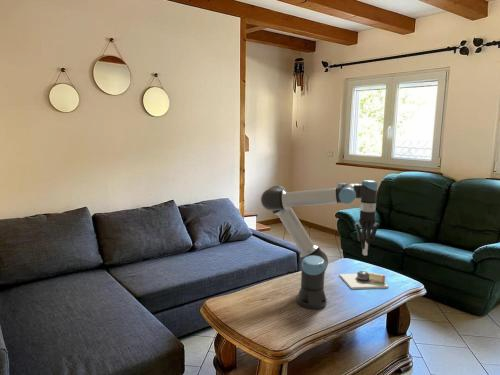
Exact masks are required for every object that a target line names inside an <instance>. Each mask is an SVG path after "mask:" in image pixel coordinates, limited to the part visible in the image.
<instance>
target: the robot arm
mask: <svg viewBox="0 0 500 375" xmlns="http://www.w3.org/2000/svg"><path fill="white" fill-rule="evenodd" d="M377 195H378V182H377V181H375V180H372V179H371V180H370V179H368V180H367V179H365V180H362V182H361V183H350V182H349V183H348V182H338V183H337V187H331V188H330V187H329V188H320V189H318V188H317V189H309V190H308V189H307V190H297V191H289V192H288V191H287V189H286V188H285V187H283V186H281V185H273V186H270V187H269V188H268V189H266V190H264V192H263V193H262V194H261V197H260V203H261V206H263V208H264V209H265V210H267V211H270V212H272V213H273V215H276V216H278V218H279V219H280V222H281V223H282V224H283V226H284V228H285V229H286V231H287V232H288V234H289V236H290V237H291V239H292V241H293V243H294V244H295V246H296V247H297V249H298V251H299V252H300V254H299V257H300V259H301V272H300V273H301V278H300V289H299V291H298V294H297V296H296V303H297V304H298V305H299V306H300V307H302V308H305V309H308V310H320V309H324V308H325V307H326V306H327V296H326V293H325V289H324V288H325V274H326V271H327V269H328V266H329V258H328V256H327V254H326V252H325V251H323V250H322V249H321V248H320V246H319V245H317V244H314V241H313V240H312V239H311V237H310V235H309V234H308V232H307V231H306V229H305V226H303V224H302V222H301V221H300V219H299V217H298V216H297V214H296V213H295V211H294V210H293V207H305V206H307V207H308V206H316V205H319V206H320V205H326V204H327V205H329V204H331V205H332V204H351V203H353V202H354V201H355V200H356V199H359V200H360V208H359V209H360V210H359V219H358V221H357V222H354V224H353V225H354V227H355V230H356V236H357V240H358V242H360V243H361V244H360V246H361V249H362V252H361V253H362V255H363V256H368V250H369V249H370V244H371V242H372V243H374V240H375V237H376V234H377V232H378V228H379V227H380V224H379V223H378V222H376V208H377ZM360 227H361V228H360Z"/></svg>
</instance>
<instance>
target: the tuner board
mask: <svg viewBox="0 0 500 375" xmlns="http://www.w3.org/2000/svg"><path fill="white" fill-rule="evenodd" d="M338 275H339V277H340V278H341V280H342V281H343V282H344V283H345V284H346V285H347V286H348V288H350V290H365V289H366V290H368V289H369V290H370V289H373V290H374V289H389V287H390V286H389V285H388V284H387V282H386V281H385V283H380V282H374V281H360V280H358V279H357V273H339V274H338Z"/></svg>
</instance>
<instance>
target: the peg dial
mask: <svg viewBox="0 0 500 375" xmlns="http://www.w3.org/2000/svg"><path fill="white" fill-rule="evenodd" d="M356 274H357V279H358V280H360V281H374V282H380V283H385V282H386V275H385V274H381V273H375V272H368V271H365V270H360V271H357V273H356Z"/></svg>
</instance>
